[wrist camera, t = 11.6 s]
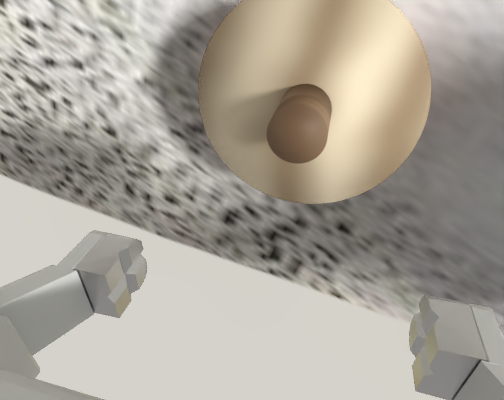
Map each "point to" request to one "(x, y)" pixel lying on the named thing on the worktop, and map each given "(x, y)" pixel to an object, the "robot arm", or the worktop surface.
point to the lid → (314, 95)
